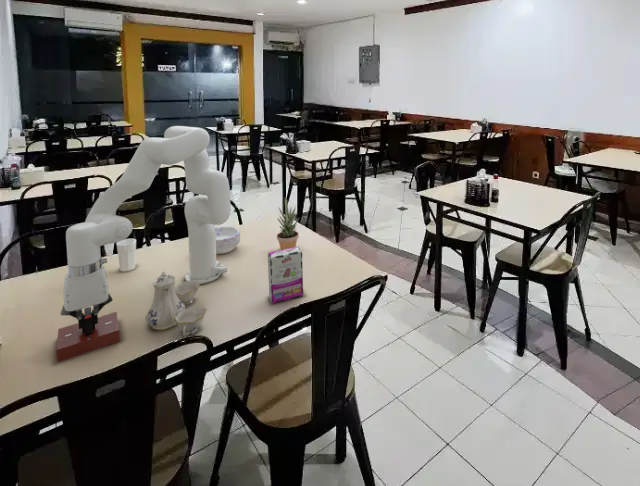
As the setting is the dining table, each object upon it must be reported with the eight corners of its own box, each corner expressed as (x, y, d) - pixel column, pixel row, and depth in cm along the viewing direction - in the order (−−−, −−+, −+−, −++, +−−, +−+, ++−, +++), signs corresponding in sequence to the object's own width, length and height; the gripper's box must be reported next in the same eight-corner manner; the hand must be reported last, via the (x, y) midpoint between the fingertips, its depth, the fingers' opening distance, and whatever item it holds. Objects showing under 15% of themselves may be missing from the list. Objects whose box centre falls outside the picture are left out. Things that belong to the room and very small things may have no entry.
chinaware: (213, 338, 115) (217, 283, 115) (149, 355, 106) (153, 295, 105) (194, 295, 138) (198, 250, 138) (140, 306, 128) (144, 257, 128)
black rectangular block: (85, 324, 113) (84, 307, 113) (92, 322, 114) (91, 305, 114) (85, 336, 108) (84, 318, 108) (92, 334, 109) (91, 316, 109)
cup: (141, 264, 157) (140, 238, 156) (129, 272, 151) (128, 245, 150) (126, 264, 158) (124, 238, 157) (113, 271, 152) (112, 245, 151)
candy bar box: (299, 289, 140) (298, 245, 138) (303, 296, 135) (303, 251, 134) (268, 297, 135) (267, 251, 133) (271, 304, 130) (270, 257, 129)
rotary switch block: (117, 322, 120) (116, 311, 120) (119, 341, 111) (119, 329, 111) (59, 340, 112) (58, 328, 111) (57, 362, 103) (56, 349, 102)
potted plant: (281, 244, 178) (281, 192, 176) (301, 246, 176) (301, 193, 174) (273, 254, 168) (272, 199, 166) (294, 255, 167) (293, 200, 164)
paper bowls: (233, 257, 165) (232, 239, 164) (197, 256, 165) (197, 239, 164) (245, 242, 180) (245, 226, 179) (213, 242, 180) (212, 225, 179)
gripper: (117, 254, 117) (120, 312, 119) (49, 269, 108) (54, 332, 109) (119, 264, 111) (122, 324, 113) (47, 280, 102) (52, 346, 103)
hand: (88, 327), depth 111 cm, fingers closed on black rectangular block
